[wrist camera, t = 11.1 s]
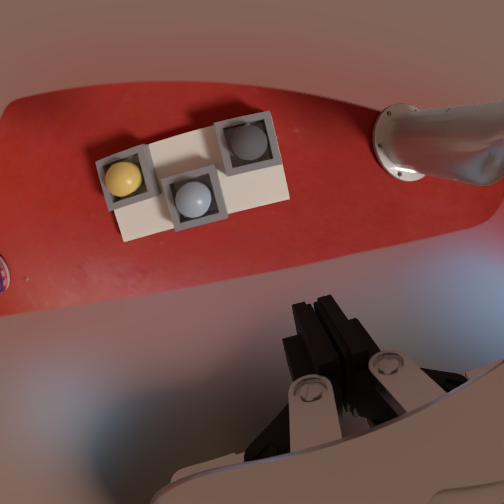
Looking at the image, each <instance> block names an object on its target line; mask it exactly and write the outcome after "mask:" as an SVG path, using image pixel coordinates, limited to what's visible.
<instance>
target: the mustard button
mask: <svg viewBox="0 0 504 504" xmlns="http://www.w3.org/2000/svg"><path fill="white" fill-rule="evenodd" d="M105 183H106V187H107V189H108V190H109V192H110V193H112V194H113V195H115V196H126V195H128V194H130V193H133V192H135V191H137V190H138V189H140V188H141V187H142V185H143V183H144V176H143V172H142V168H141V165H140V164H138V163H136V162H133V161H129V162H119V163H115V164H114V165H112V166H111V167H110V168H109V169H108V171H107V173H106V176H105Z"/></svg>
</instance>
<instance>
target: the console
mask: <svg viewBox="0 0 504 504" xmlns="http://www.w3.org/2000/svg"><path fill="white" fill-rule="evenodd" d="M245 125H253V126H256V127H258V128H260V129H261V130H262V131H263V132H264V133H265V135H266V137H267V148H266V151H265V152H264V154H263V155H262V156H260V157H259V158H257V159H254V160H244V159H240V158H238V157H237V156H236V155H235V154H234V153H233V151H232V149H231V139H232V136H233V134H234V132H235V131H236V130H237V129H238V128H240V127H242V126H245ZM129 161H133V162H136V163H138V164H140V165H141V168H142V172H143V176H144V183H143V185H142V187H141V188H140V189H138V190H137V191H135V192H133V193H130V194H128V195H126V196H115V195H113V194H112V193H110V192H109V190H108V189H107V187H106V183H105V176H106V173H107V171H108V169H109V168H110V167H111V166H112V165H114V164H115V163H119V162H129ZM95 163H96V167H97V171H98V175H99V179H100V183H101V186H102V190H103V193H104V197H105V200H106V204H107V207H108V210H109V211H112V210H114V212H115V216H116V219H117V222H118V225H119V228H120V231H121V234H122V237H123V240H124V242H126V241H130V240H133V239H136V238H140V237H143V236H147V235H150V234H154V233H158V232H161V231H165V230H168V229H172V228H174V229H175V232H176V231H180V230H184V229H188V228H191V227H195V226H199V225H203V224H207V223H211V222H215V221H218V220H222V219H226V218H228V214H229V213H233V212H237V211H241V210H245V209H250V208H254V207H258V206H262V205H266V204H271V203H275V202H279V201H283V200H288V199H290V197H289V193H288V188H287V183H286V178H285V174H284V169H283V165H282V160H281V156H280V151H279V147H278V142H277V138H276V134H275V130H274V125H273V121H272V117H271V113H270V111H265V112H260V113H255V114H250V115H246V116H241V117H237V118H232V119H228V120H224V121H219V122H215V123H214V125H213V126H209V127H205V128H201V129H198V130H194V131H190V132H187V133H183V134H180V135H177V136H173V137H170V138H167V139H163V140H160V141H157V142H154V143H151V144H148V145H147V144H141V145H138V146H135V147H132V148H130V149H127V150H124V151H121V152H119V153H116V154H113V155H111V156H108V157H106V158H103V159H101V160H98V161H96V162H95ZM192 180H200V181H203V182H205V183H206V184H207V185H208V186H209V187H210V189H211V191H212V200H211V203H210V206H209V208H208V210H207V211H206V212H205V213H204V214H203V215H201V216H199V217H196V218H190V217H186V216H184V215H183V214H181V213H180V212H179V210H178V209H177V207H176V203H175V198H176V194H177V192H178V190H179V189H180V188H181V187H182V186H183V185H185V184H186V183H188V182H189V181H192Z"/></svg>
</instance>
